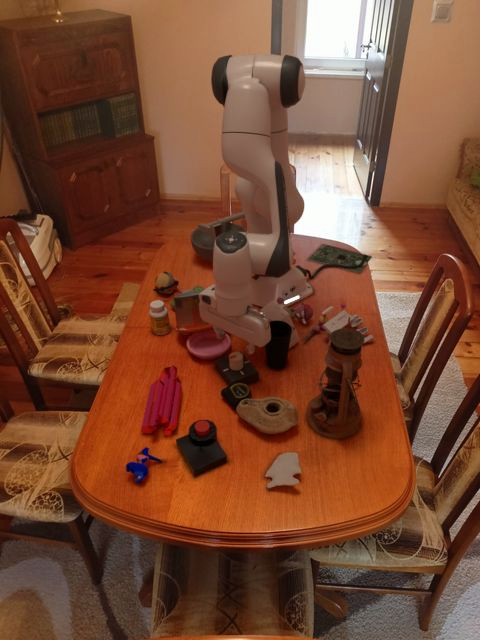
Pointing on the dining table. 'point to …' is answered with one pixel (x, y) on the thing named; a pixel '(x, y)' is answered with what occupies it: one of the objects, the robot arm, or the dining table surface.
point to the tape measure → (236, 393)
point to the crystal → (163, 402)
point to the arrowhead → (284, 470)
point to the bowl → (210, 240)
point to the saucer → (208, 345)
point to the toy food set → (184, 292)
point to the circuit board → (339, 257)
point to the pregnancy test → (336, 320)
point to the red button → (202, 428)
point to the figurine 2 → (301, 315)
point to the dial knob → (236, 360)
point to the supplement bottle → (159, 317)
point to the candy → (325, 319)
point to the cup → (278, 344)
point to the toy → (165, 283)
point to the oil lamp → (268, 414)
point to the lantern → (338, 387)
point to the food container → (189, 313)
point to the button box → (201, 450)
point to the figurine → (140, 465)
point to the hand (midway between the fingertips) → (235, 345)
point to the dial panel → (237, 371)
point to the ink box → (280, 318)
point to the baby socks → (357, 323)
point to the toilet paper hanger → (219, 225)
